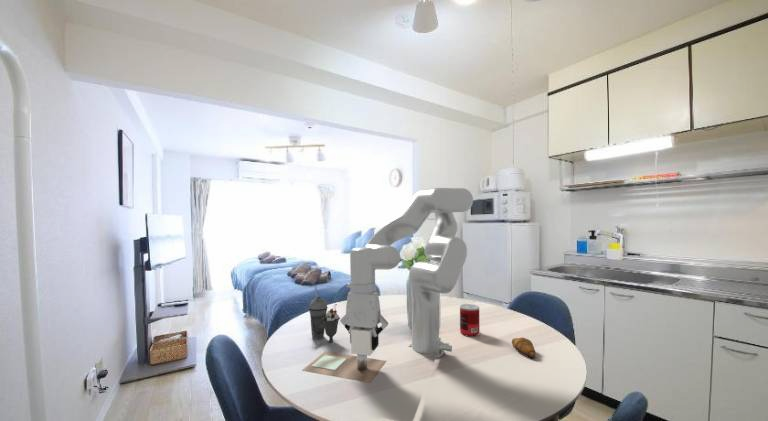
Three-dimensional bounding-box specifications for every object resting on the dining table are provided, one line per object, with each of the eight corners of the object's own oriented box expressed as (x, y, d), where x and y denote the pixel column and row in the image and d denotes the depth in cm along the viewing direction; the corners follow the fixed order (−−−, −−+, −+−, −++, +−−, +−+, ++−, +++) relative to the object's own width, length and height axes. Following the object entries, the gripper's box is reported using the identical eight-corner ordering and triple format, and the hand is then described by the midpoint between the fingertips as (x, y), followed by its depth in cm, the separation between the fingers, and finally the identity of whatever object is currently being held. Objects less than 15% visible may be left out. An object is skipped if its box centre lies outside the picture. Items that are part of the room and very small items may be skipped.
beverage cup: (325, 341, 117) (325, 288, 117) (306, 340, 117) (307, 288, 118) (328, 334, 124) (329, 284, 125) (311, 333, 124) (311, 284, 125)
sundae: (343, 343, 114) (343, 303, 115) (334, 351, 108) (335, 308, 108) (327, 341, 116) (328, 301, 117) (318, 348, 110) (318, 306, 110)
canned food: (481, 332, 127) (481, 305, 127) (476, 338, 120) (476, 310, 120) (463, 328, 131) (463, 302, 131) (457, 334, 124) (457, 307, 124)
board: (386, 365, 97) (386, 360, 97) (370, 388, 83) (370, 381, 84) (325, 355, 104) (325, 350, 104) (301, 375, 90) (301, 369, 90)
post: (368, 366, 93) (368, 348, 93) (364, 371, 90) (364, 352, 90) (359, 365, 94) (359, 347, 94) (355, 369, 91) (355, 350, 91)
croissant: (543, 360, 101) (543, 344, 102) (524, 360, 101) (523, 345, 101) (522, 343, 115) (522, 330, 115) (505, 344, 114) (505, 330, 115)
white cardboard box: (370, 355, 89) (369, 331, 89) (351, 353, 91) (350, 329, 91) (377, 347, 94) (376, 324, 95) (359, 345, 96) (358, 322, 97)
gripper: (332, 289, 92) (333, 349, 92) (386, 292, 87) (387, 356, 86) (343, 283, 99) (344, 339, 99) (393, 286, 94) (395, 345, 93)
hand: (364, 346), depth 93 cm, fingers closed on white cardboard box, 6 cm apart
